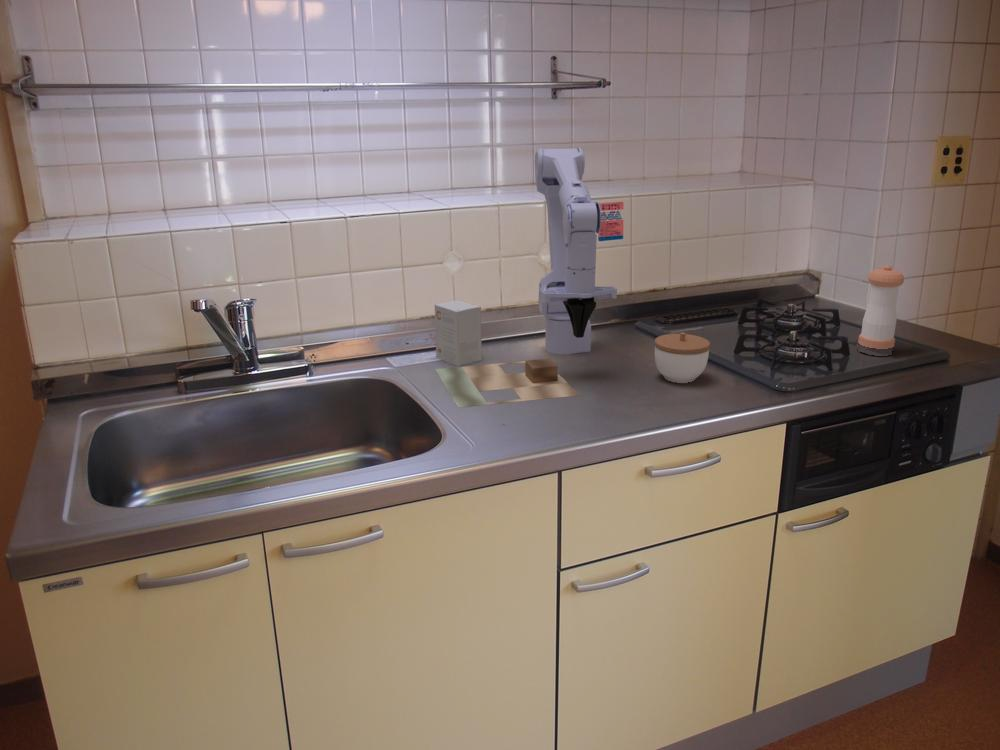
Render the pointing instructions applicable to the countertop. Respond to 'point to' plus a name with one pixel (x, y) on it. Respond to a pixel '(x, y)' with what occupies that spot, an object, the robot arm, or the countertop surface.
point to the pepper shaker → (881, 309)
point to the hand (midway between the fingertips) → (578, 336)
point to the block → (541, 370)
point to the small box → (458, 332)
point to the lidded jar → (681, 356)
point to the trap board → (497, 384)
